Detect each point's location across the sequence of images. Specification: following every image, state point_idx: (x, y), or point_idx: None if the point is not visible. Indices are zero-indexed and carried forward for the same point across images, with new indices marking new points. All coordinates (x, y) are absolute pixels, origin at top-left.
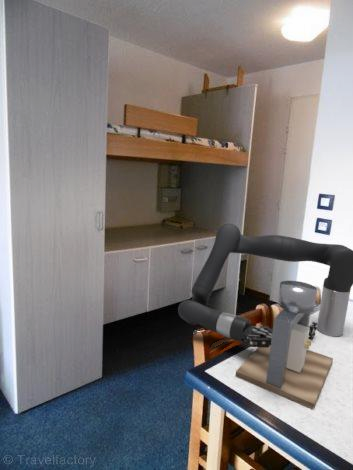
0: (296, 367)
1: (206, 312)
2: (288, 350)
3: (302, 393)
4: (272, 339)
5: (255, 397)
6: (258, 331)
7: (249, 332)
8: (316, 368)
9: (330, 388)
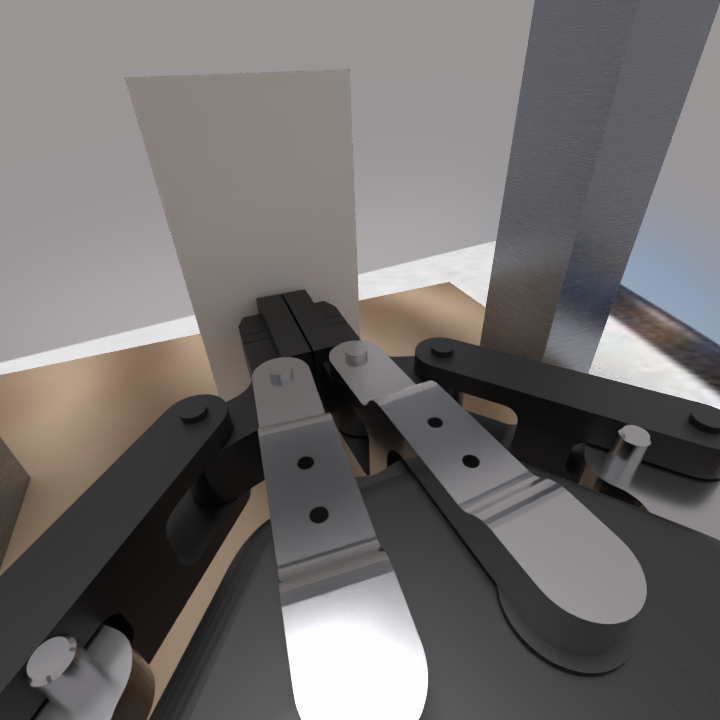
0: None
1: None
2: (518, 143)
3: (445, 309)
4: (699, 39)
5: (669, 388)
6: (473, 493)
7: (702, 650)
8: (194, 362)
9: None
